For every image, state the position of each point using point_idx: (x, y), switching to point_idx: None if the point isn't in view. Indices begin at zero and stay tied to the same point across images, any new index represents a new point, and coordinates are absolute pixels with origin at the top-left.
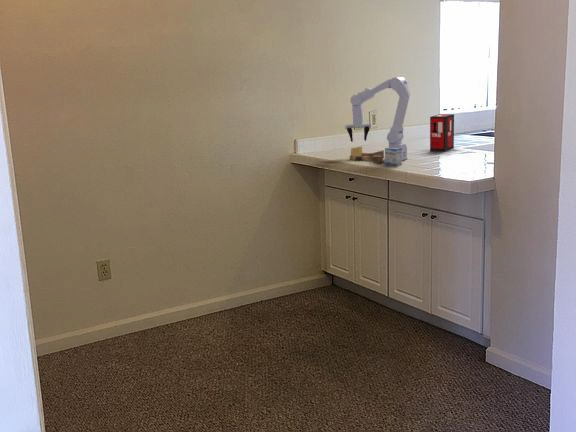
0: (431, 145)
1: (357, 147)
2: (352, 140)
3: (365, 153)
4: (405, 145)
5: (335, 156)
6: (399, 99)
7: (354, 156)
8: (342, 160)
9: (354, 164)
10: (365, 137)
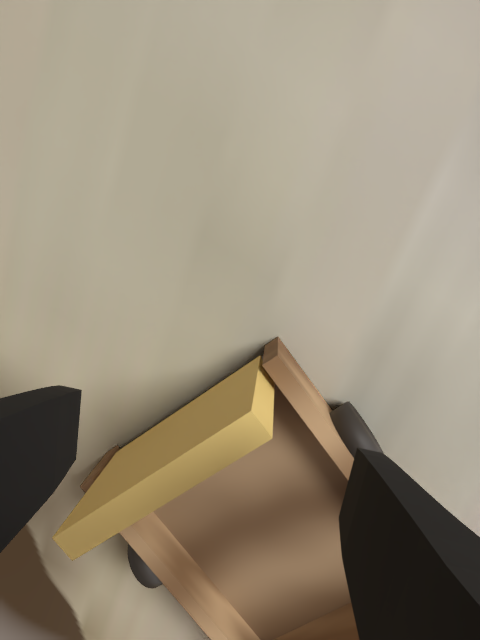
0: None
1: (168, 501)
2: (57, 480)
3: (306, 424)
4: None
5: (43, 5)
6: None
7: (122, 530)
8: (51, 373)
9: (93, 629)
10: (357, 599)
